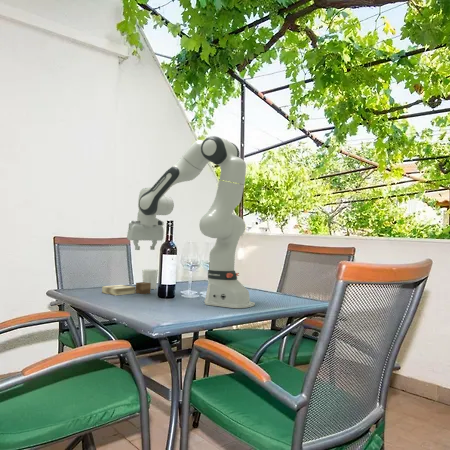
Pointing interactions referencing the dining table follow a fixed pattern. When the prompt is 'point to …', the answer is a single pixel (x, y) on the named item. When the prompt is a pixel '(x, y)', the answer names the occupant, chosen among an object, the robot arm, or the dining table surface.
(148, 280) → the white cup
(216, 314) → the dining table surface
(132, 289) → the birch plinth
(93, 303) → the dining table surface
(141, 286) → the walnut cube
